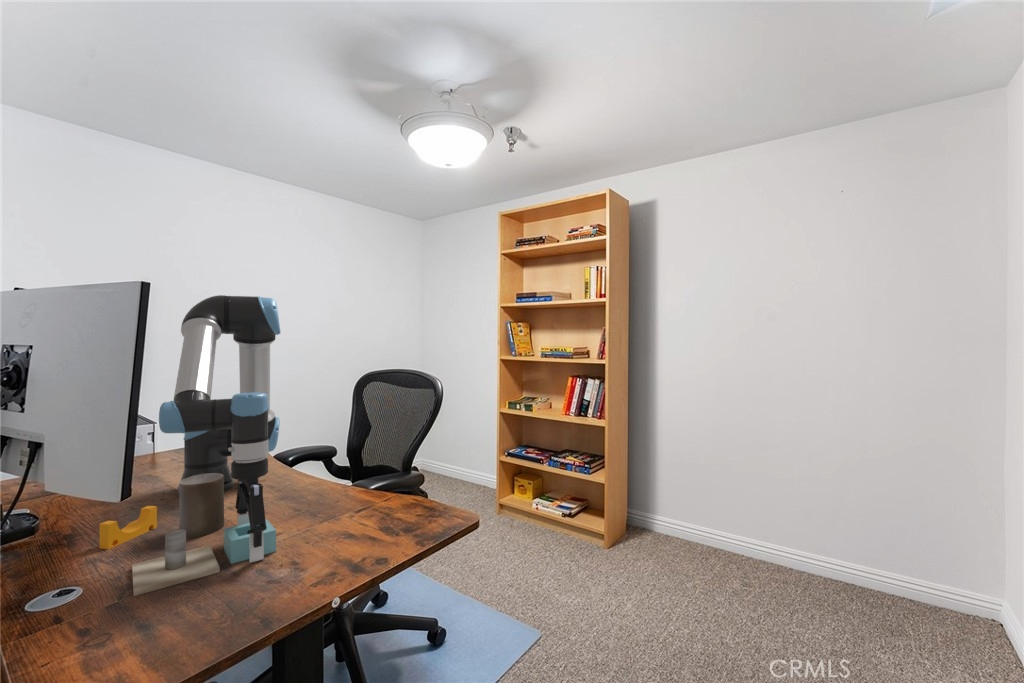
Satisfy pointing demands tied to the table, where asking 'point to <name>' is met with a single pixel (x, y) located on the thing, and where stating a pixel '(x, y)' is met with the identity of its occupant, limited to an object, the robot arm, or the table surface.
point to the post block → (173, 565)
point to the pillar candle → (201, 504)
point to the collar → (246, 541)
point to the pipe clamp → (127, 528)
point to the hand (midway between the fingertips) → (249, 550)
